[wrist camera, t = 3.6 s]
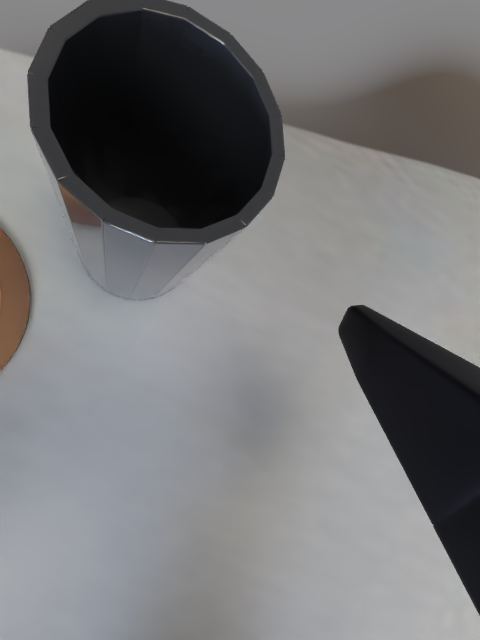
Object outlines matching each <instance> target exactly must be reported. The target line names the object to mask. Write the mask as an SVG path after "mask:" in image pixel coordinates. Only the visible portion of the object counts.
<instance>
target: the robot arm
mask: <svg viewBox="0 0 480 640" xmlns="http://www.w3.org/2000/svg"><path fill="white" fill-rule="evenodd" d="M339 336H340V338H341V341H342V343H343V346H344V348H345V351H346V353H347V356H348V358H349V361H350V363H351V366H352V368H353V371H354V373H355V376H356V378H357V380H358V382H359V384H360V386H361V388H362V390H363V392H364V394H365V396H366V398H367V400H368V402H369V404H370V406H371V407H372V409H373V411H374V413H375V415H376V417H377V419H378V421H379V423H380V425H381V427H382V429H383V431H384V432H385V434H386V436H387V438H388V440H389V442H390V444H391V446H392V448H393V450H394V452H395V454H396V455H397V457H398V459H399V461H400V463H401V465H402V467H403V469H404V471H405V473H406V475H407V477H408V478H409V480H410V482H411V484H412V486H413V488H414V490H415V492H416V494H417V496H418V498H419V500H420V502H421V503H422V505H423V507H424V509H425V511H426V513H427V515H428V517H429V519H430V521H431V523H432V524H433V527H434V529H435V531H436V533H437V535H438V537H439V538H440V540H441V542H442V544H443V546H444V548H445V550H446V552H447V554H448V556H449V558H450V560H451V562H452V563H453V565H454V567H455V569H456V571H457V573H458V575H459V577H460V579H461V581H462V583H463V585H464V586H465V588H466V590H467V592H468V594H469V596H470V598H471V600H472V602H473V604H474V606H475V608H476V610H477V611H478V613H479V615H480V368H479V367H478V366H476V365H474V364H472V363H470V362H468V361H466V360H465V359H463V358H461V357H459V356H457V355H455V354H453V353H452V352H450V351H448V350H446V349H444V348H442V347H440V346H439V345H437V344H435V343H433V342H431V341H429V340H428V339H426V338H424V337H422V336H420V335H418V334H416V333H415V332H413V331H411V330H409V329H407V328H405V327H403V326H402V325H400V324H398V323H396V322H394V321H392V320H391V319H389V318H387V317H385V316H383V315H381V314H379V313H378V312H376V311H374V310H372V309H370V308H368V307H366V306H364V305H356V306H350V307H349V308H348V309H347V311H346V313H345V315H344V317H343V319H342V321H341V323H340V325H339Z"/></svg>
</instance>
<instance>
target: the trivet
mask: <svg viewBox="0 0 480 640" xmlns="http://www.w3.org/2000/svg"><path fill="white" fill-rule="evenodd" d="M29 311H30V288H29V280H28V276H27V273H26V269H25V266H24V264H23V262H22V259H21V257H20V255H19V253H18V251H17V249H16V248H15V246H14V245H13V243H12V241H11V240H10V239H9V237H8V236H7V235H6V234H5V233H4V231H3V230H2V229H1V228H0V371H1V370H2V368H3V367H4V366H5V365H6V364H7V363H8V361H9V360H10V358H11V357H12V355H13V354H14V353H15V351H16V349H17V347H18V345H19V343H20V341H21V339H22V337H23V335H24V332H25V329H26V326H27V323H28V317H29Z"/></svg>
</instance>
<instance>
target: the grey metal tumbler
mask: <svg viewBox="0 0 480 640" xmlns="http://www.w3.org/2000/svg"><path fill="white" fill-rule="evenodd" d="M27 81H28V99H29V118H30V128H31V132H32V134H33V137H34V140H35V142H36V145H37V147H38V150H39V153H40V155H41V158H42V161H43V163H44V166H45V169H46V171H47V174H48V177H49V179H50V182H51V185H52V187H53V190H54V193H55V195H56V198H57V201H58V203H59V206H60V209H61V211H62V214H63V217H64V219H65V222H66V225H67V227H68V230H69V233H70V235H71V238H72V241H73V243H74V246H75V249H76V251H77V254H78V256H79V258H80V260H81V262H82V264H83V267H84V268H85V270H86V272H87V274H88V275H89V277H91V279H92V280H93V281H94V282H95V283H96V284H97V285H98V286H100V287H101V288H102V289H104V290H105V291H107V292H109V293H110V294H112V295H115V296H117V297H120V298H124V299H129V300H148V299H152V298H156V297H158V296H161V295H163V294H165V293H167V292H169V291H171V290H172V289H174V288H175V287H176V286H177V285H178V284H180V283H181V282H182V281H183V280H184V279H185V278H187V277H188V276H189V275H190V274H191V273H193V272H194V271H195V270H196V269H197V268H198V267H200V266H201V265H202V264H203V263H204V262H206V261H207V260H208V259H209V258H210V257H211V256H213V255H214V254H215V253H216V252H217V251H219V250H220V249H221V248H222V247H223V246H224V245H226V244H227V243H228V242H229V241H230V240H232V239H233V238H234V237H235V236H236V235H237V234H239V233H240V232H241V231H242V230H243V229H245V228H246V227H247V226H248V225H249V224H250V222H251V221H252V220H253V219H254V218H255V217H256V216H257V215H258V214H259V212H260V211H261V210H262V209H263V208H264V207H265V206H266V205H267V204H268V202H269V201H270V200H271V199H272V197H273V196H274V192H275V189H276V186H277V183H278V179H279V176H280V173H281V170H282V166H283V163H284V160H285V149H284V137H283V125H282V115H281V112H280V109H279V107H278V105H277V102H276V100H275V98H274V96H273V93H272V91H271V88H270V86H269V84H268V82H267V79H266V77H265V75H264V73H263V72H262V70H261V68H260V67H259V66H258V65H257V64H256V63H255V61H254V60H253V59H252V58H251V57H250V56H249V54H248V53H247V52H246V51H245V50H244V48H243V47H242V46H241V45H240V44H239V43H238V41H237V40H236V39H235V38H234V37H233V36H232V35H230V33H229V32H228V31H226V30H224V29H223V28H221V27H220V26H218V25H217V24H215V23H214V22H212V21H210V20H209V19H207V18H206V17H204V16H203V15H201V14H200V13H198V12H196V11H195V10H194V9H192V8H190V7H187V6H186V5H183V4H179V3H175V2H171V1H167V0H90V1H89V0H88V1H86V2H84V3H83V4H82V5H80V6H79V7H77V8H76V9H74V10H73V11H71V12H70V13H68V14H67V15H65V16H64V17H63V18H61V19H60V20H58V21H57V22H55V23H54V24H52V25H51V26H50V28H48V30H47V32H46V34H45V36H44V38H43V40H42V43H41V45H40V47H39V49H38V51H37V53H36V55H35V57H34V59H33V62H32V64H31V66H30V68H29V70H28V75H27Z"/></svg>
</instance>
